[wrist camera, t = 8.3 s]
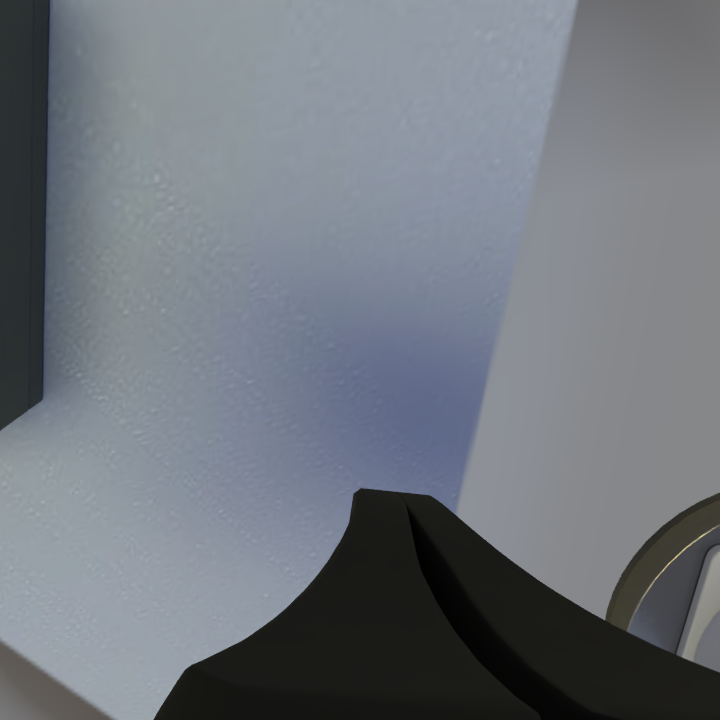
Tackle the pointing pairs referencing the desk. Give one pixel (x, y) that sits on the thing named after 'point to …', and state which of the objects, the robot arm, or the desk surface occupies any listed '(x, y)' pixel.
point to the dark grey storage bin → (22, 202)
